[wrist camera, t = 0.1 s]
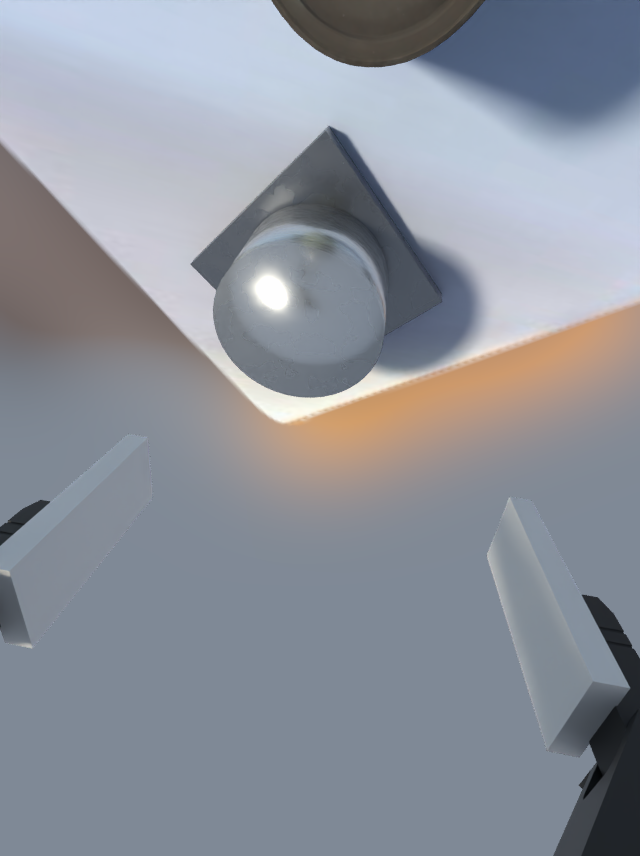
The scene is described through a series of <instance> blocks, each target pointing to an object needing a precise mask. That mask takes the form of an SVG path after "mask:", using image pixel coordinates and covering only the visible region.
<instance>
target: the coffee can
mask: <svg viewBox="0 0 640 856" xmlns="http://www.w3.org/2000/svg"><path fill="white" fill-rule="evenodd" d="M484 1H485V0H272V2H273V4H274V5H275V7H276V8H277V10H278V11H279V12H280V14H281V15H282V17H283V18H284V19H285V20H286V21H287V22H288V24H289V25H290V26H291V28H292V29H293V30H294V31H295V32H296V33H297V34H298V35H299V36H300V37H301V38H303V39H304V40H305V41H306V42H307V43H308V44H310V45H311V46H312V47H313V48H315V49H316V50H318V51H319V52H321V53H323V54H324V55H326V56H328V57H330V58H332V59H334V60H336V61H339V62H342V63H345V64H349V65H353V66H361V67H385V66H392V65H396V64H400V63H404V62H408V61H410V60H412V59H415V58H417V57H419V56H421V55H423V54H425V53H427V52H429V51H431V50H432V49H434V48H435V47H437V46H438V45H439V44H441V43H442V42H444V41H445V40H447V39H448V38H449V37H450V36H451V35H452V34H454V33H455V32H456V31H457V30H458V29H459V28H460V27H461V26H462V25H463V24H464V23H465V22H466V21H467V20H468V19H469V18H470V17H471V16H472V15H473V14H474V13H475V12H476V11H477V9H478V8H479V7H480V6H481V5H482V3H483V2H484Z"/></svg>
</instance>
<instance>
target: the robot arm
mask: <svg viewBox="0 0 640 856" xmlns="http://www.w3.org/2000/svg"><path fill="white" fill-rule="evenodd" d="M152 498H153V490H152V477H151V465H150V455H149V441H148V437H144V436H137V435H131V434H128V435H126V437H124V438H123V439H122V440H121V441H120V442H118V443H117V444H116V445H115V446H114V447H113V448H112V449H111V450H109V451H108V452H107V453H106V454H105V455H104V456H102V457H101V458H100V459H99V460H98V461H97V462H96V463H95V464H94V465H92V466H91V467H90V468H89V469H88V470H86V471H85V472H84V473H83V474H82V475H81V476H80V477H78V478H77V479H76V480H75V481H74V482H73V483H72V484H70V485H69V486H68V487H67V488H66V489H65V490H64V491H62V492H61V493H60V494H59V495H58V496H57V497H56V498H55V499H53V500H52V501H51V502H50V501H43V500H40V501H38V502H36V503H34V504H32V505H30V506H28V507H25V508H23V509H22V510H20V511H19V512H18V513H17V514H16V515H14V516H13V517H12V518H11V519H10V520H8V523H5V524H4V525H2V526H1V527H0V630H1V632H2V635H3V638H4V641H5V643H9V644H14V645H19V646H24V647H29V648H33V647H34V646H35V645H36V644H37V642H38V641H39V640H40V639H41V637H42V636H43V635H44V634H45V632H46V631H47V630H48V628H49V627H50V626H51V625H52V624H53V622H54V621H55V620H56V619H57V617H58V616H59V615H60V614H61V612H62V611H63V610H64V609H65V607H66V606H67V605H68V604H69V602H70V601H71V600H72V598H73V597H74V596H75V595H76V594H77V592H78V591H79V590H80V589H81V587H82V586H83V585H84V583H85V582H86V581H87V580H88V579H89V577H90V576H91V575H92V574H93V572H94V571H95V570H96V569H97V567H98V566H99V565H100V564H101V562H102V561H103V560H104V559H105V557H106V556H107V555H108V554H109V552H110V551H111V550H112V549H113V547H114V546H115V545H116V544H117V542H118V541H119V540H120V538H121V537H122V536H123V535H124V534H125V532H126V531H127V530H128V529H129V527H130V526H131V525H132V524H133V522H134V521H135V520H136V518H137V517H138V516H139V515H140V513H141V512H142V511H143V510H144V509H145V507H146V506H147V505H148V503H149V502H150V501H151V500H152ZM487 559H488V562H489V565H490V568H491V571H492V575H493V578H494V581H495V584H496V588H497V591H498V594H499V597H500V601H501V604H502V607H503V610H504V614H505V617H506V620H507V623H508V627H509V630H510V633H511V636H512V639H513V643H514V646H515V649H516V652H517V656H518V659H519V662H520V665H521V669H522V672H523V675H524V678H525V682H526V685H527V688H528V692H529V695H530V698H531V701H532V704H533V708H534V711H535V714H536V717H537V721H538V724H539V727H540V730H541V734H542V737H543V740H544V743H545V747H546V750H547V751H550V752H554V753H559V754H564V755H570V756H574V757H580V756H581V755H582V753H583V752H584V750H585V749H586V748H587V746H588V745H589V744H590V745H591V748H592V751H593V753H594V756H595V758H596V761H597V763H596V764H595V765H594V767H593V768H592V769H591V771H590V772H589V773H588V774H587V776H586V777H585V778H584V779H583V781H582V782H581V783H580V784H579V786H580V787H581V788H582V789H583V790H582V792H581V794H580V796H579V799H578V801H577V803H576V806H575V808H574V810H573V812H572V815H571V817H570V819H569V821H568V824H567V826H566V828H565V830H564V833H563V835H562V837H561V839H560V842H559V844H558V846H557V849H556V851H555V853H554V856H640V658H639V657H638V655H637V653H636V651H635V650H634V649H632V645H631V643H630V641H629V639H628V638H627V636H626V635H625V634H624V633H623V632H624V631H623V629H622V627H621V626H620V624H619V622H618V620H617V619H616V617H615V615H614V614H613V613H612V612H611V611H610V610H609V608H607V606H606V605H605V604H604V603H603V602H602V601H600V599H599V598H598V597H593V596H587V595H581V593H580V591H579V589H578V588H577V586H576V584H575V582H574V580H573V578H572V576H571V575H570V572H569V570H568V568H567V567H566V565H565V563H564V561H563V559H562V557H561V555H560V553H559V551H558V549H557V548H556V546H555V544H554V542H553V540H552V538H551V536H550V534H549V532H548V530H547V529H546V527H545V525H544V523H543V521H542V519H541V517H540V515H539V513H538V512H537V509H536V508H535V506H534V504H533V502H532V501H531V500H526V499H520V498H514V497H509V499H508V502H507V505H506V507H505V510H504V513H503V515H502V517H501V520H500V523H499V525H498V528H497V530H496V533H495V535H494V538H493V541H492V543H491V546H490V548H489V551H488V554H487Z"/></svg>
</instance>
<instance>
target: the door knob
mask: <svg viewBox="0 0 640 856" xmlns="http://www.w3.org/2000/svg"><path fill="white" fill-rule="evenodd" d="M191 265H192V266H193V267H194V268H195V269H196V270H197V271H198V272H199V273H200V274H201V275H202V276H203V277H204V278H205V279H206V280H207V281H208V282H209V283H210V284H211V285H212V286H213V287H214V288H215V289H216V290H217V291H216V295H215V298H214V306H213V318H214V324H215V329H216V332H217V335H218V338H219V340H220V343H221V345H222V347H223V348H224V350H225V352H226V353H227V355H228V356H229V358H230V359H231V360H232V361H233V363H234V364H235V365H236V366H237V367H238V368H239V369H240V370H241V371H242V372H244V373H245V374H246V375H247V376H248V377H250V378H251V379H253V380H254V381H256V382H257V383H259V384H261V385H263V386H264V387H266V388H269V389H271V390H273V391H276V392H279V393H282V394H286V395H291V396H296V397H324V396H329V395H333V394H336V393H339V392H342V391H344V390H346V389H349V388H350V387H352V386H354V385H355V384H357V383H358V382H359V381H361V380H362V379H363V378H364V377H365V376H366V375H367V374H368V373H369V372H370V371H371V369H372V368H373V366H374V365H375V363H376V362H377V360H378V357H379V355H380V353H381V349H382V346H383V340H384V336H385V335H387V334H388V333H390V332H392V331H393V330H395V329H397V328H399V327H400V326H402V325H404V324H405V323H407V322H409V321H410V320H412V319H414V318H415V317H417V316H419V315H421V314H422V313H424V312H426V311H427V310H429V309H431V308H432V307H434V306H436V305H438V304H439V303H441V302H442V295H441V292H440V291H439V289H438V288H437V286H436V285H435V283H434V282H433V280H432V279H431V277H430V276H429V274H428V273H427V271H426V270H425V268H424V267H423V265H422V264H421V263H420V261H419V260H418V258H417V257H416V255H415V254H414V252H413V251H412V249H411V248H410V246H409V245H408V243H407V242H406V240H405V239H404V237H403V236H402V234H401V233H400V231H399V230H398V228H397V227H396V225H395V224H394V222H393V221H392V219H391V218H390V216H389V215H388V213H387V212H386V210H385V209H384V207H383V206H382V204H381V203H380V202H379V200H378V199H377V197H376V196H375V194H374V193H373V191H372V190H371V188H370V187H369V185H368V184H367V182H366V181H365V179H364V178H363V176H362V175H361V173H360V172H359V170H358V169H357V167H356V166H355V164H354V163H353V161H352V160H351V158H350V157H349V155H348V154H347V152H346V151H345V149H344V148H343V146H342V145H341V143H340V142H339V140H338V139H337V138H336V136H335V135H334V133H333V132H332V130H331V129H330V127H329V126H328V127H327V128H326V129H325V130H324V131H323V132H322V133H321V134H320V135H319V136H318V137H317V138H316V139H315V140H314V141H313V142H312V143H311V144H310V145H309V146H308V147H307V148H306V149H305V150H304V151H303V152H302V153H301V154H300V155H299V156H298V157H297V158H296V159H295V160H294V161H293V162H292V163H291V164H290V165H289V166H288V167H287V168H286V169H285V170H284V171H283V172H282V173H281V174H280V175H279V176H278V177H277V178H276V179H275V180H274V181H273V182H272V183H271V184H270V185H269V186H268V187H267V188H266V189H265V190H264V191H263V192H262V193H261V194H260V195H258V196H257V197H256V198H255V199H254V200H253V201H252V202H251V203H250V204H249V205H248V206H247V207H246V208H245V209H244V210H243V211H242V212H241V213H240V214H239V215H238V216H237V217H236V218H235V219H234V220H233V221H232V222H231V223H230V224H229V225H228V226H227V227H226V228H225V229H224V230H223V231H222V232H221V233H220V234H219V235H218V236H217V237H216V238H215V239H214V240H213V241H212V242H211V243H210V244H209V245H208V246H207V247H206V248H205V249H204V250H203V251H202V252H201V253H200V254H199V255H198V256H197V257H196V258H195V259H194V260H193V262H192V263H191Z"/></svg>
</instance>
